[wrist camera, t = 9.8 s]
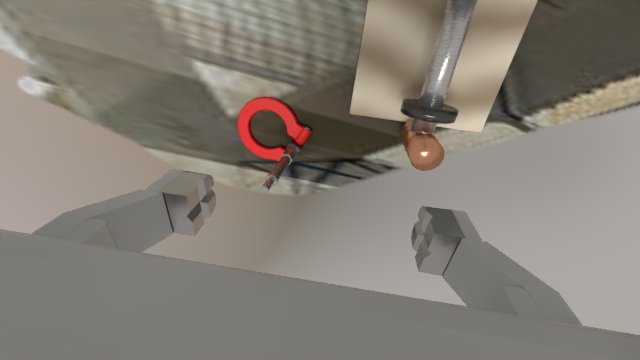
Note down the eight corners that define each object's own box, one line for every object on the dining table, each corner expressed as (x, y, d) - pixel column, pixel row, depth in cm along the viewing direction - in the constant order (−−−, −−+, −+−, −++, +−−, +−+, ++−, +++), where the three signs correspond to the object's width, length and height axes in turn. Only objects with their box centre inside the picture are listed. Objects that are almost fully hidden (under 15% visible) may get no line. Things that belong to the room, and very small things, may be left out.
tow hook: (231, 134, 38) (286, 170, 39) (173, 172, 26) (252, 221, 28) (257, 83, 34) (316, 124, 35) (201, 102, 23) (292, 162, 24)
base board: (397, -176, 22) (399, -185, 21) (599, -160, 21) (609, -168, 20) (349, 111, 34) (349, 113, 33) (477, 129, 33) (480, 132, 32)
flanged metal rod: (436, -52, 24) (463, -82, 18) (500, -45, 23) (551, -73, 17) (387, 141, 33) (394, 166, 27) (433, 148, 33) (451, 174, 26)
